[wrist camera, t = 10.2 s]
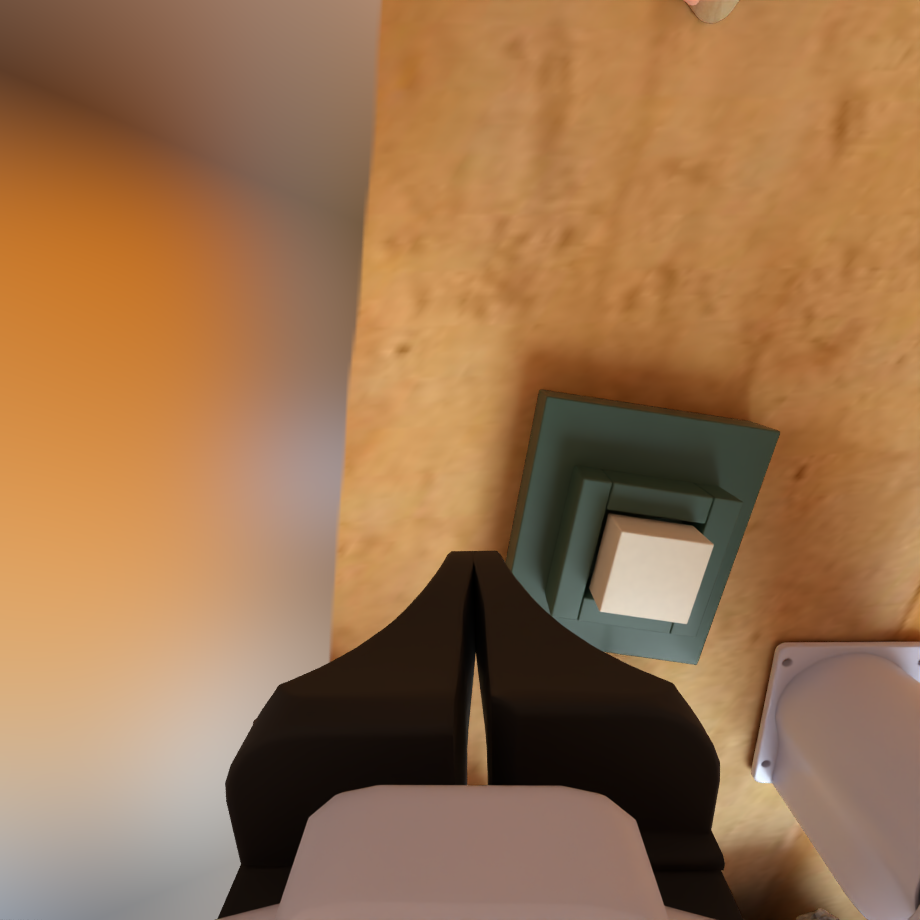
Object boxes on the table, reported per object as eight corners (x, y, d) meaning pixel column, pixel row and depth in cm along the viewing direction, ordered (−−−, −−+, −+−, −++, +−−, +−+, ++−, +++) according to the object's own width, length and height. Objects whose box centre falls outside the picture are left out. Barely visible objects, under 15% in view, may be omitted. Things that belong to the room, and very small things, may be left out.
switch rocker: (669, 599, 20) (687, 625, 18) (588, 587, 20) (599, 612, 18) (693, 524, 19) (715, 544, 17) (608, 512, 19) (621, 530, 17)
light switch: (677, 636, 24) (716, 694, 21) (495, 610, 24) (500, 663, 20) (750, 421, 21) (813, 442, 17) (539, 388, 21) (554, 402, 17)
